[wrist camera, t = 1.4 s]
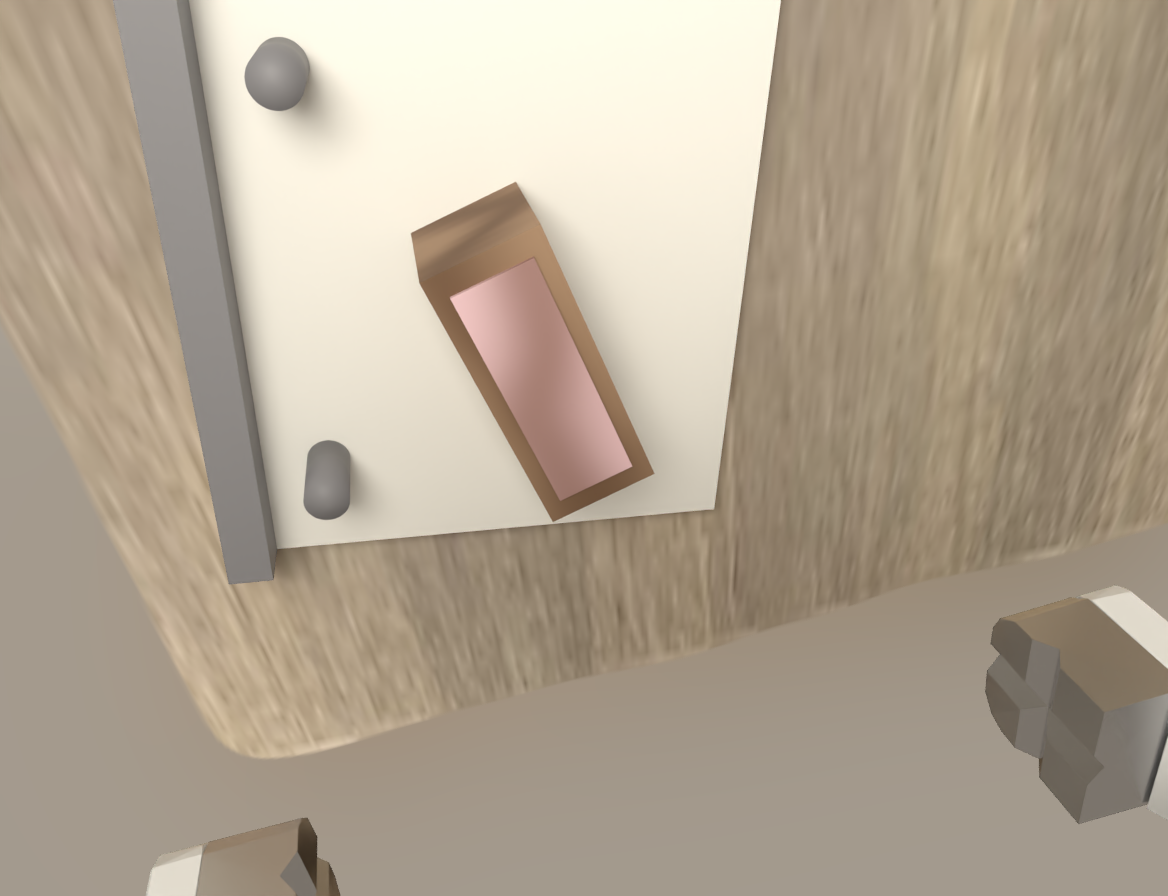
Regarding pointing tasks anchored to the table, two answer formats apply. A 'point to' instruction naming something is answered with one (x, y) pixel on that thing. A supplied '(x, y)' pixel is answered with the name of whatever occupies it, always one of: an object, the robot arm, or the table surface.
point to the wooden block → (529, 350)
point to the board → (419, 197)
